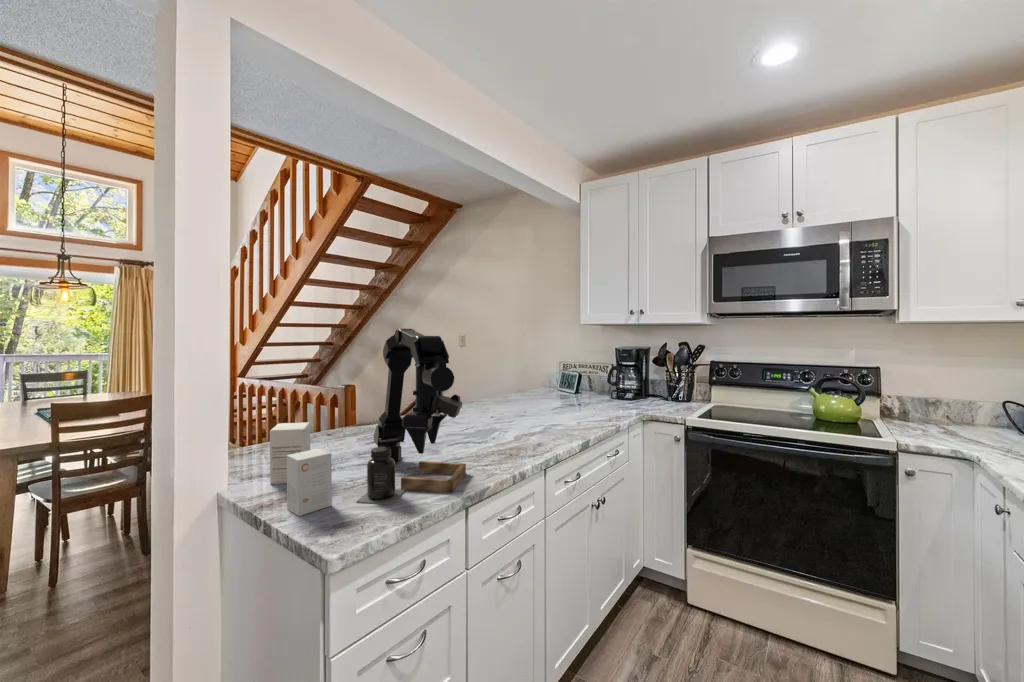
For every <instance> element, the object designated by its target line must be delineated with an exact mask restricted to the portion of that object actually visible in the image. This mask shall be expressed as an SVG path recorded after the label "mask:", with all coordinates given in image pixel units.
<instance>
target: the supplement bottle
mask: <svg viewBox="0 0 1024 682" xmlns="http://www.w3.org/2000/svg"><path fill="white" fill-rule="evenodd" d="M390 456H391V448H389V447H378V446H377V447H373V448H371V451H370V458H371V459H369V460H368V462H367V464H366V473H367V474H366V490H367V491H366V493H367V495H368V497H369V498H370V499H372V500H385V499H388V498H391V497H393V496H394V494H395V489H396V464H395V461H394V460H393V459H392V458H391V457H390Z"/></svg>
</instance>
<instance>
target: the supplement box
mask: <svg viewBox="0 0 1024 682" xmlns="http://www.w3.org/2000/svg"><path fill="white" fill-rule="evenodd" d="M309 450H311V422H309V421H308V422H306V421H305V422H281V423H277V424H276V425H275V426H274V427H272V428H271V429H270V430H269V471H270V472H269V478H270V479H269V483H270V485H276V484H278V485H280V484H287V455H290V454H295V453H300V452H304V451H309Z"/></svg>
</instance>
